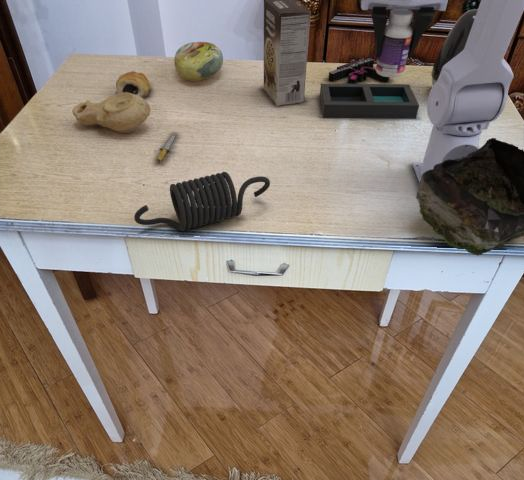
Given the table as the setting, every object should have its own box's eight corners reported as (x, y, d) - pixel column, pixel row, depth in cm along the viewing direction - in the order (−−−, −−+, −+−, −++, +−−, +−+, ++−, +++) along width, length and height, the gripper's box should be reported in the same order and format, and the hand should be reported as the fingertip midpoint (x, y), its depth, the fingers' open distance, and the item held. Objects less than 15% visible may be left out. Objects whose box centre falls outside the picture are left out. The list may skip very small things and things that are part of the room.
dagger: (169, 130, 86) (179, 133, 86) (169, 135, 87) (179, 138, 87) (152, 156, 79) (164, 159, 79) (152, 161, 80) (164, 164, 80)
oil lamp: (80, 123, 91) (67, 99, 87) (149, 101, 91) (139, 75, 87) (85, 154, 85) (71, 129, 81) (158, 130, 86) (148, 104, 82)
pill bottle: (403, 79, 86) (417, 17, 79) (374, 76, 87) (385, 15, 80) (404, 68, 90) (417, 8, 82) (376, 66, 91) (386, 6, 83)
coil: (264, 204, 75) (272, 241, 70) (137, 201, 71) (135, 239, 66) (270, 164, 69) (279, 201, 64) (132, 158, 65) (130, 197, 60)
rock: (431, 209, 56) (397, 256, 65) (584, 249, 57) (530, 290, 66) (437, 110, 63) (406, 164, 73) (572, 147, 64) (525, 196, 74)
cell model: (172, 78, 98) (165, 26, 102) (186, 106, 105) (179, 56, 110) (219, 61, 96) (210, 9, 100) (231, 90, 103) (222, 40, 108)
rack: (415, 118, 91) (419, 105, 90) (323, 117, 92) (324, 104, 90) (406, 96, 98) (409, 84, 96) (319, 96, 98) (320, 83, 96)
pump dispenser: (479, 107, 95) (510, 20, 83) (427, 103, 96) (451, 16, 84) (473, 87, 101) (501, 3, 89) (425, 83, 102) (446, 0, 90)
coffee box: (262, 88, 100) (262, -2, 87) (290, 85, 101) (294, -5, 89) (275, 106, 94) (278, 12, 82) (305, 102, 96) (312, 9, 83)
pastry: (123, 82, 102) (119, 63, 99) (153, 82, 102) (150, 63, 99) (116, 100, 96) (112, 80, 93) (149, 100, 96) (145, 80, 93)
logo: (366, 56, 108) (400, 69, 103) (365, 64, 109) (398, 77, 104) (325, 70, 102) (358, 85, 97) (324, 78, 103) (357, 93, 99)
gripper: (449, -43, 78) (427, 48, 89) (364, -44, 78) (352, 47, 89) (460, -33, 74) (435, 62, 84) (370, -33, 74) (356, 61, 84)
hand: (393, 55), depth 86 cm, fingers closed on pill bottle, 5 cm apart
